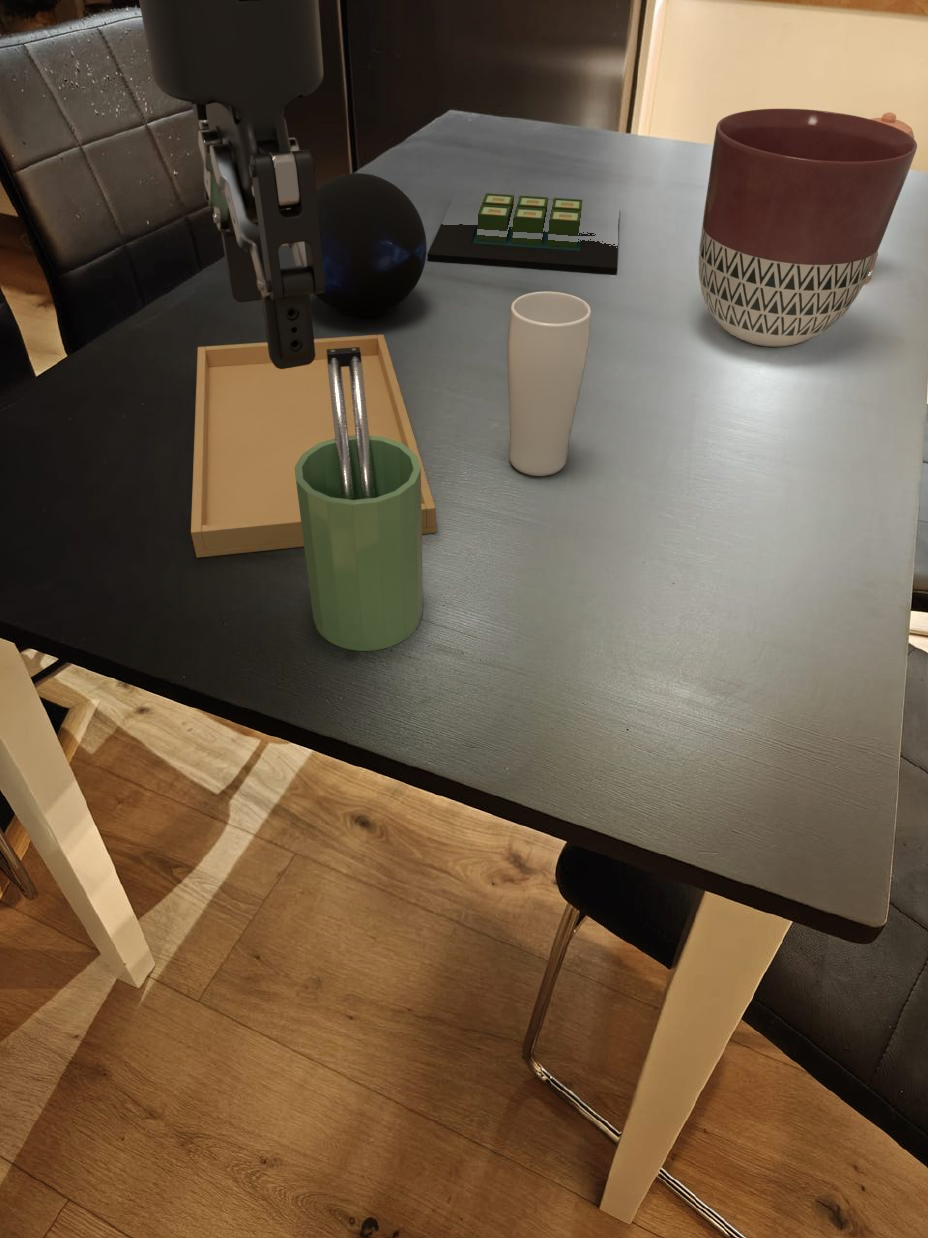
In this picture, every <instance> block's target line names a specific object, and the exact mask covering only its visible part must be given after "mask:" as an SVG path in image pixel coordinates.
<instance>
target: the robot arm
mask: <svg viewBox="0 0 928 1238" xmlns="http://www.w3.org/2000/svg"><path fill="white" fill-rule="evenodd" d="M138 1H139V7H140V12H141V19H142V25H143V29H144V34H145V40H146V45H147V46H146V47H147V51H148V56H149V62H150V67H151V68H150V69H151V73H152V78H153V81H154V83H155V85H156V86H157V88H158V89H160V90H161V91H162V92H163V93H164V94H166V95H168V96H169V97H172V98H173V99H177V100H180V101H183V102H188V103H190V105H192V111H193V119H194V124H195V125H194V126H195V132H196V139H197V145H198V151H199V152H198V153H199V159H200V165H201V171H202V178H203V185H204V186H203V187H204V190H203V196H204V200H205V201H207V204H208V206H209V208H213V213H212V219H213V223H214V224H215V225H216V228H217V230H218V231H220V232H221V233H220V234H221V239H222V240H221V241H222V246H223V253H224V259H225V266H226V267H225V268H226V272H227V279H228V280H227V281H228V285H229V291H230V294H231V296H232V297H233V299H234V300H235V301H236V302H238V303H248V302H254V301H261V304H262V311H263V319H264V328H265V334H266V342H267V343H268V351H269V357H270V359H271V361H272V363H273V364H274V366H275V367H276V368H278V369H286V368H292V367H298V366H304V365H308V364H310V363H312V362H313V361H314V359H315V346H314V339H315V337H314V325H313V315H312V303H311V295H315V294H318V293H324V292H325V284H326V277H325V274H324V267H323V257H322V246H321V236H320V226H319V215H318V205H317V195H316V189H317V186H316V176H315V172H316V164H315V160H314V159H313V156H312V153H311V151H310V150H309V149H300V147H299V142H298V140H297V138H295V137H289V131H288V126H287V120H286V119H285V116H284V114H285V107H286V105H287V104H288V103H290V102H291V101H292V100H293V99H295V98H300V99H301V98H304V97H307V96H309V95H311V94H312V93H314V92H315V91H317V90H318V89H319V87H320V86H321V84H322V83H323V79H324V76H325V75H324V60H323V59H324V58H323V46H322V31H321V16H320V3H319V0H138ZM281 246H282V247H283V246H286V247H289V249H290V250H291V251H292V252H291V253H292V258H293V261H294V265H295V266H288V267H282V268H281V263H280V255H279V254H280V253H279V250H280V247H281Z"/></svg>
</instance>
